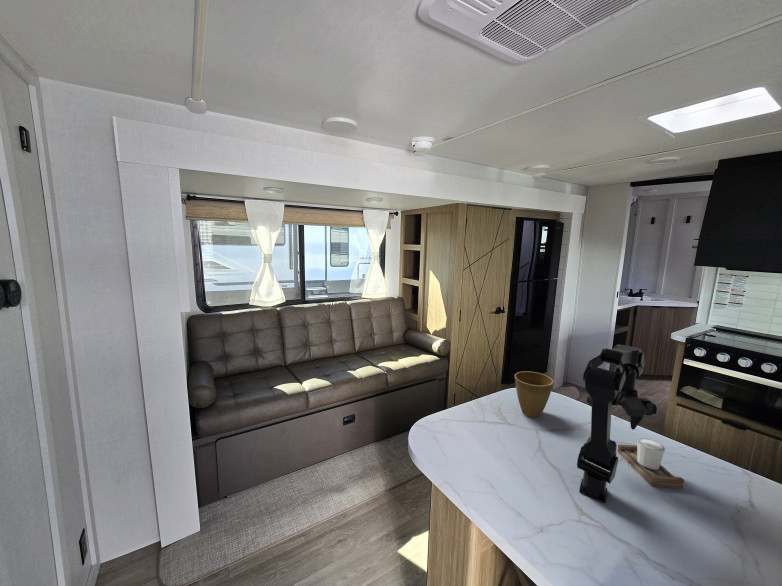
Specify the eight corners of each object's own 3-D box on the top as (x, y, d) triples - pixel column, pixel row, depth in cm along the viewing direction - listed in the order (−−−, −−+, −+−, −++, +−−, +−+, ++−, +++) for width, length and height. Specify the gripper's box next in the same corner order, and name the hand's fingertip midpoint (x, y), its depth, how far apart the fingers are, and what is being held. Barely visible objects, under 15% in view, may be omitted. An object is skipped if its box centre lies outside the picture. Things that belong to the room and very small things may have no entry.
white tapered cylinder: (648, 456, 105) (651, 437, 104) (667, 470, 98) (671, 450, 97) (629, 456, 105) (632, 437, 104) (647, 471, 98) (650, 450, 97)
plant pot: (537, 403, 143) (541, 370, 140) (557, 422, 128) (561, 385, 126) (506, 404, 142) (508, 371, 139) (522, 422, 127) (525, 385, 125)
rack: (682, 488, 94) (684, 479, 93) (650, 486, 94) (652, 477, 94) (644, 453, 109) (645, 446, 109) (617, 451, 110) (618, 444, 110)
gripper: (608, 393, 94) (602, 441, 96) (674, 397, 92) (667, 445, 95) (588, 378, 105) (583, 421, 107) (647, 381, 103) (641, 424, 106)
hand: (617, 428), depth 103 cm, fingers open, 9 cm apart
